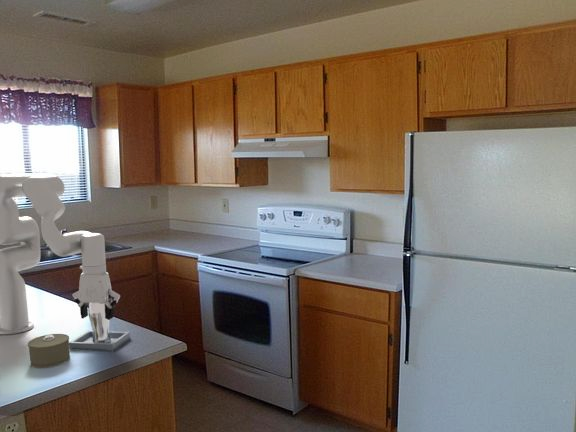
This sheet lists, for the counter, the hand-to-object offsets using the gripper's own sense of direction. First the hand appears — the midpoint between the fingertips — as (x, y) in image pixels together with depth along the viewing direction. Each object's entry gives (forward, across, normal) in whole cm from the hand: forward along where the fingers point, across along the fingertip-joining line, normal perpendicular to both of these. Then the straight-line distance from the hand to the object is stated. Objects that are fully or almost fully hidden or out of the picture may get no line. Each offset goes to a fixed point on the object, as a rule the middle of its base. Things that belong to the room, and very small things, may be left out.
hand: (97, 317), depth 179 cm
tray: (+9, +1, 0) cm, 9 cm away
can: (+10, -8, -16) cm, 20 cm away
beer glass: (+9, +1, 0) cm, 9 cm away
